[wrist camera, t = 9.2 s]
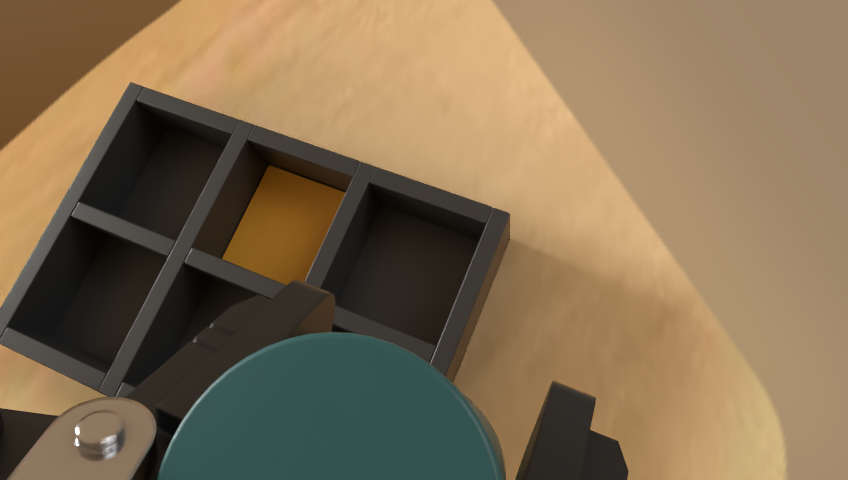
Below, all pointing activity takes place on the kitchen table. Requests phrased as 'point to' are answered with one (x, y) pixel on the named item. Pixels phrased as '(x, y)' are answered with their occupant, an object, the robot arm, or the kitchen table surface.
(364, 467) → the cylinder
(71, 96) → the kitchen table surface
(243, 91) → the kitchen table surface
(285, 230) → the grid
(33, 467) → the robot arm
